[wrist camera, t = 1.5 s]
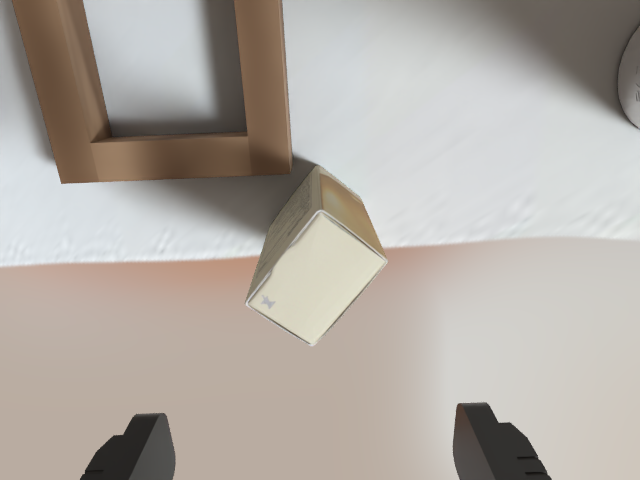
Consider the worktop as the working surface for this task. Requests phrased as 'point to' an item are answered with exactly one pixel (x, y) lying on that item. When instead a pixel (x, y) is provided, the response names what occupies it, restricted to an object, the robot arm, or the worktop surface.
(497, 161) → the worktop surface
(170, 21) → the worktop surface
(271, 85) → the socket block
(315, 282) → the skincare box
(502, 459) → the robot arm
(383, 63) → the worktop surface
